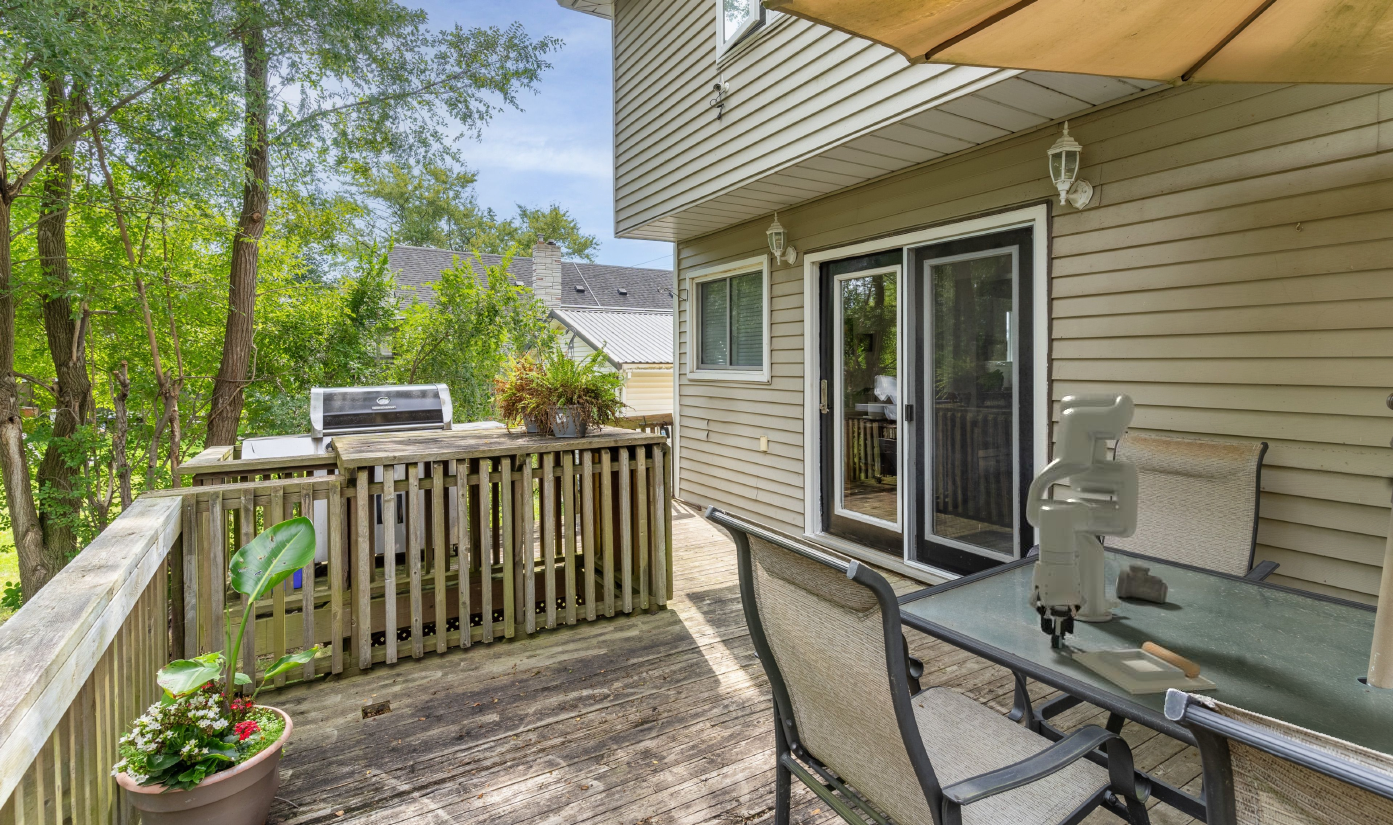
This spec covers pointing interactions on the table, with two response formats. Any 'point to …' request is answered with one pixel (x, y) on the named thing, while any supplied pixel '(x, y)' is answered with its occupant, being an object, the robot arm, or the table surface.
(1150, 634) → the table surface
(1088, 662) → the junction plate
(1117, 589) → the pipe fitting
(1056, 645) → the push button
